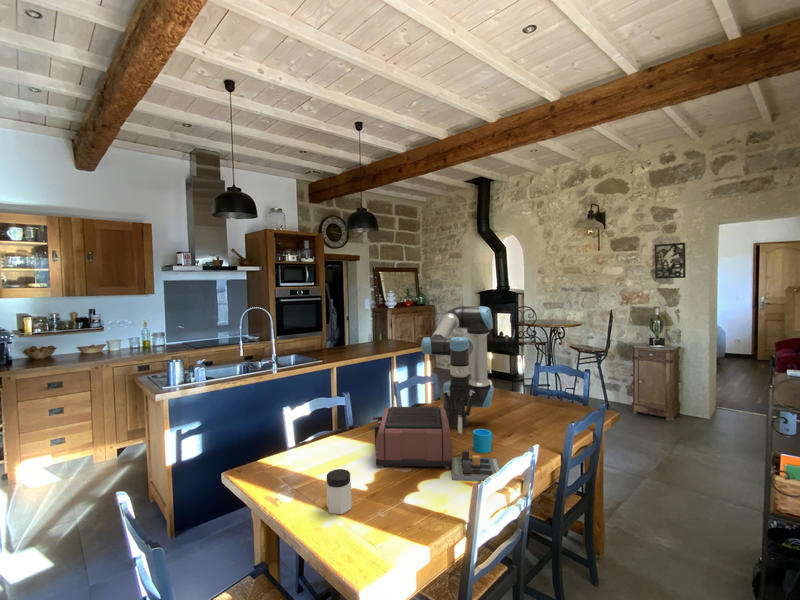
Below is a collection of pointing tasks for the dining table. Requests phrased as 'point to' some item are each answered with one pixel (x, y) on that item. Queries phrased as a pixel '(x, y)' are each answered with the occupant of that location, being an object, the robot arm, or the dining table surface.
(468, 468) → the breaker
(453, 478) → the panel
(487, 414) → the dining table surface
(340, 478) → the jar
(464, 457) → the breaker
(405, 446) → the toaster
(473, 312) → the robot arm
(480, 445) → the mug
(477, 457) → the breaker
